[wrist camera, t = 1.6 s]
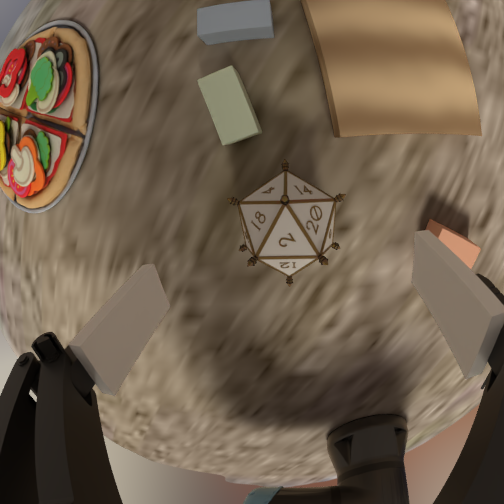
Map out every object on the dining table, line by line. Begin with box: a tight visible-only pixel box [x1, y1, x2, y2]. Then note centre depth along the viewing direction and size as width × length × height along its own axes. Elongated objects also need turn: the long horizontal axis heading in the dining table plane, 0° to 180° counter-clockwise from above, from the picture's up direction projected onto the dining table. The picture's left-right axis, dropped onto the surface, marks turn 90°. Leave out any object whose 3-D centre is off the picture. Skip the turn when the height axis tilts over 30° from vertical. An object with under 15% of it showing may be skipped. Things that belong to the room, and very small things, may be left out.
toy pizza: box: [0, 20, 98, 213], centre depth 21 cm, size 28×28×4 cm
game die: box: [227, 159, 346, 287], centre depth 21 cm, size 9×8×10 cm
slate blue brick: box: [197, 0, 274, 45], centre depth 17 cm, size 6×3×3 cm, turn 93°
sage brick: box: [197, 65, 262, 145], centre depth 20 cm, size 6×3×3 cm, turn 20°
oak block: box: [300, 0, 482, 137], centre depth 15 cm, size 14×14×3 cm
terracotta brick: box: [425, 219, 481, 269], centre depth 22 cm, size 6×3×3 cm, turn 75°
